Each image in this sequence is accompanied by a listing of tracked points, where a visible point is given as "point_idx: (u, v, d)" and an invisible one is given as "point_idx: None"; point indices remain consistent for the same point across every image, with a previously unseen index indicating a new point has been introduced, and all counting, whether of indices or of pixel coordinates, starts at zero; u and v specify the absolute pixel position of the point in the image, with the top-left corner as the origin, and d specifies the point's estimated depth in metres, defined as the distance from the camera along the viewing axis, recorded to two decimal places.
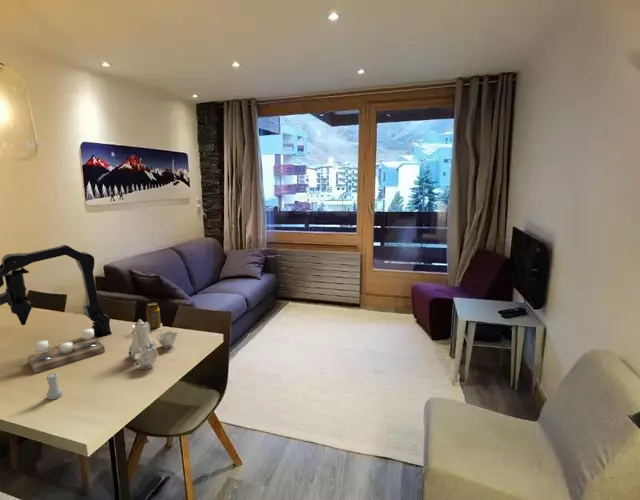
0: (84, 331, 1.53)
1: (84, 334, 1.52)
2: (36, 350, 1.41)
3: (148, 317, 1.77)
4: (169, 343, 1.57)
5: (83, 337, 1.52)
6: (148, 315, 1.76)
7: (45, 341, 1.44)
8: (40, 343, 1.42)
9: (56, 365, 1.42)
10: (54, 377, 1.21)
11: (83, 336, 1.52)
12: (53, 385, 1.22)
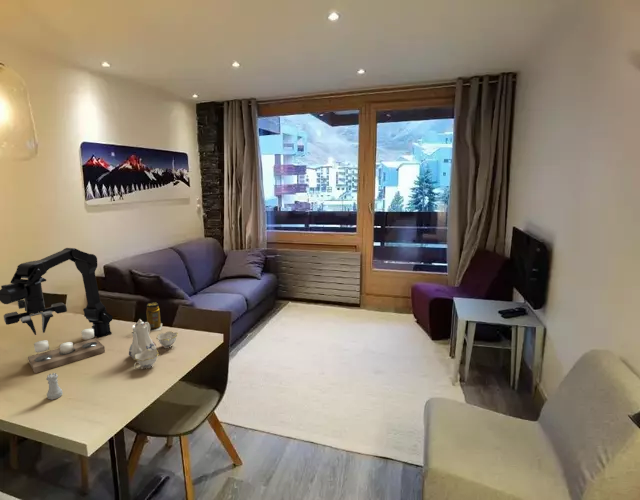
0: (84, 331, 1.53)
1: (84, 334, 1.52)
2: (36, 350, 1.41)
3: (148, 317, 1.77)
4: (169, 343, 1.57)
5: (83, 337, 1.52)
6: (148, 315, 1.76)
7: (45, 341, 1.44)
8: (40, 343, 1.42)
9: (56, 365, 1.42)
10: (54, 377, 1.21)
11: (83, 336, 1.52)
12: (53, 385, 1.22)
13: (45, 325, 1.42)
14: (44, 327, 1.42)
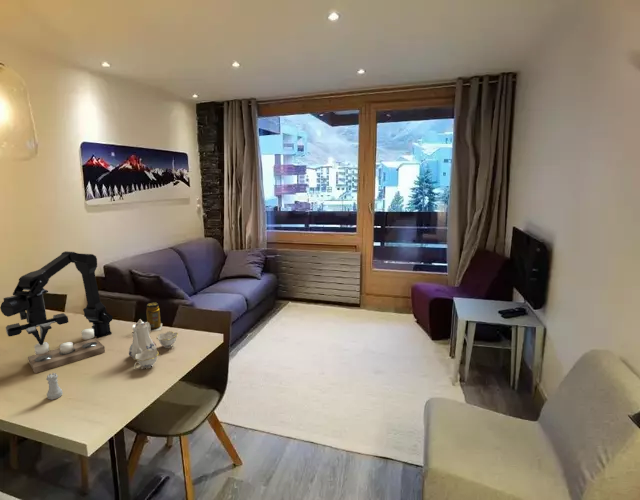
0: (84, 331, 1.53)
1: (84, 334, 1.52)
2: (36, 352, 1.41)
3: (148, 317, 1.77)
4: (169, 343, 1.57)
5: (83, 337, 1.52)
6: (148, 315, 1.76)
7: (45, 343, 1.44)
8: (40, 345, 1.42)
9: (56, 365, 1.42)
10: (54, 377, 1.21)
11: (83, 336, 1.52)
12: (53, 385, 1.22)
13: (43, 337, 1.42)
14: (42, 339, 1.42)
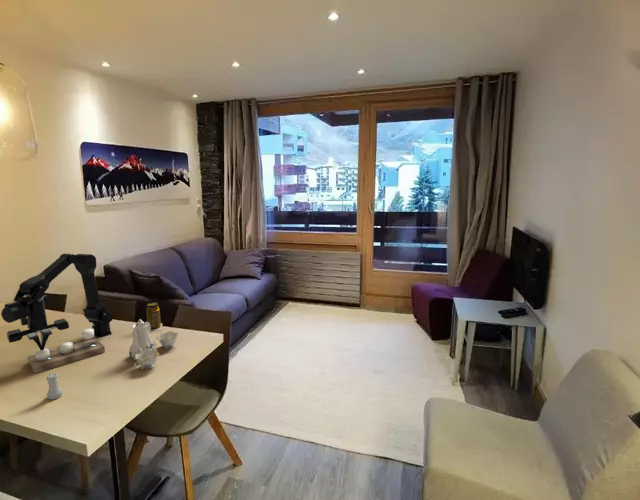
0: (84, 331, 1.53)
1: (84, 334, 1.52)
2: (37, 358, 1.42)
3: (148, 317, 1.77)
4: (170, 343, 1.57)
5: (83, 337, 1.52)
6: (148, 315, 1.76)
7: (46, 349, 1.44)
8: (41, 351, 1.43)
9: (56, 365, 1.42)
10: (54, 377, 1.21)
11: (83, 336, 1.52)
12: (53, 385, 1.22)
13: (44, 343, 1.42)
14: (43, 345, 1.42)
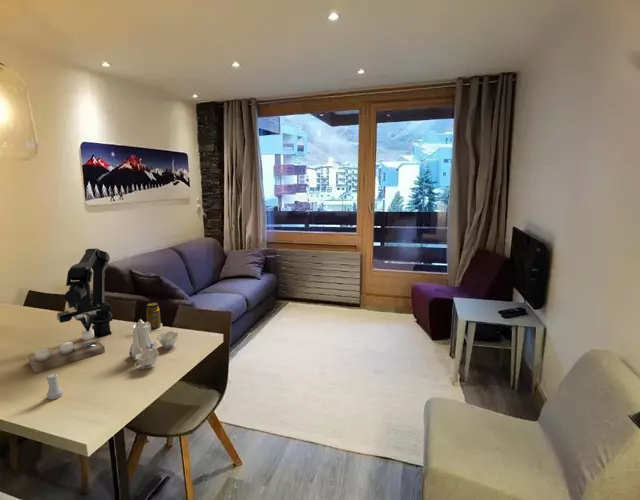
0: (84, 331, 1.53)
1: (84, 334, 1.52)
2: (37, 358, 1.42)
3: (148, 317, 1.77)
4: (170, 343, 1.57)
5: (83, 337, 1.53)
6: (148, 315, 1.76)
7: (46, 349, 1.44)
8: (41, 351, 1.43)
9: (56, 365, 1.42)
10: (54, 377, 1.21)
11: (83, 336, 1.52)
12: (53, 385, 1.22)
13: (90, 324, 1.53)
14: (89, 326, 1.53)
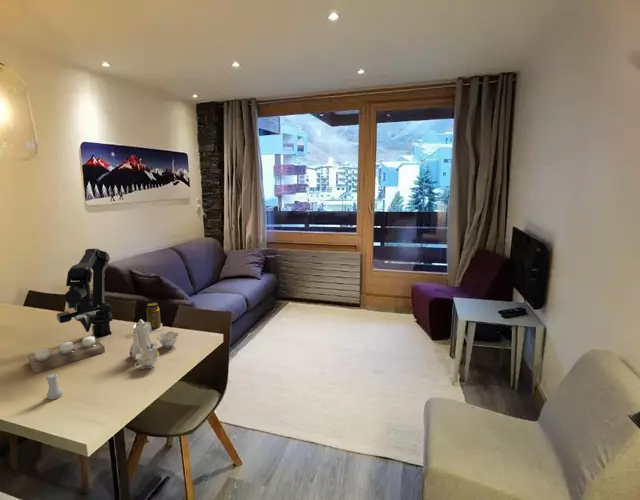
0: (85, 339, 1.54)
1: (85, 342, 1.53)
2: (37, 358, 1.42)
3: (148, 317, 1.77)
4: (170, 343, 1.57)
5: (84, 345, 1.53)
6: (148, 315, 1.76)
7: (46, 349, 1.44)
8: (41, 351, 1.43)
9: (56, 365, 1.42)
10: (54, 377, 1.21)
11: (84, 344, 1.53)
12: (53, 385, 1.22)
13: (90, 324, 1.53)
14: (89, 326, 1.53)
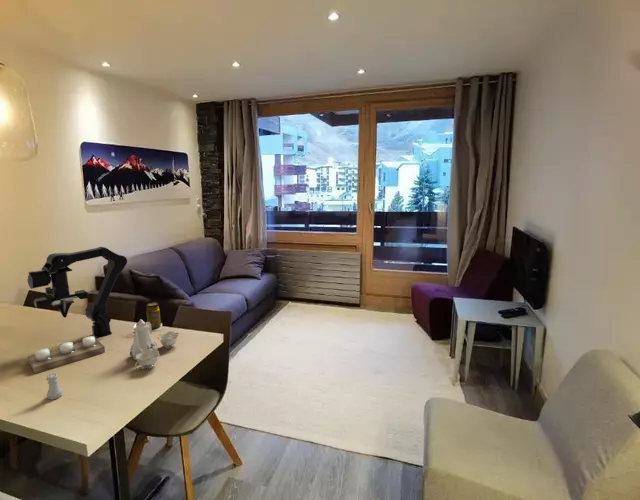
0: (85, 339, 1.54)
1: (85, 342, 1.53)
2: (37, 358, 1.42)
3: (148, 317, 1.77)
4: (170, 343, 1.57)
5: (84, 345, 1.53)
6: (148, 315, 1.76)
7: (46, 349, 1.44)
8: (41, 351, 1.43)
9: (56, 365, 1.42)
10: (54, 377, 1.21)
11: (84, 344, 1.53)
12: (53, 385, 1.22)
13: (67, 310, 1.57)
14: (66, 312, 1.57)
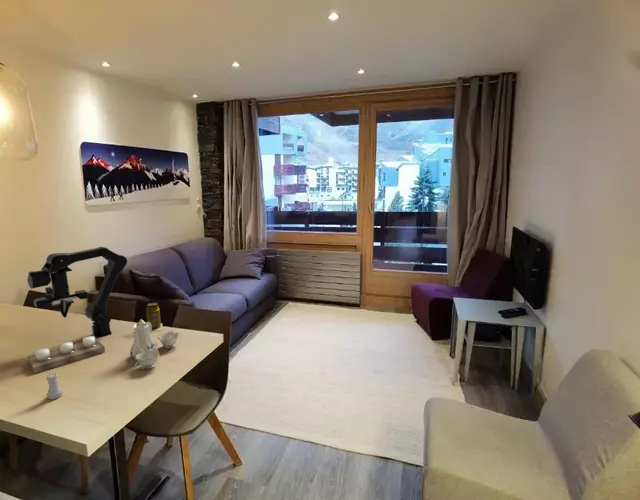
0: (85, 339, 1.54)
1: (85, 342, 1.53)
2: (37, 358, 1.42)
3: (148, 317, 1.77)
4: (171, 343, 1.57)
5: (84, 345, 1.53)
6: (148, 315, 1.76)
7: (46, 349, 1.44)
8: (41, 351, 1.43)
9: (56, 365, 1.42)
10: (54, 377, 1.21)
11: (84, 344, 1.53)
12: (53, 385, 1.22)
13: (66, 310, 1.57)
14: (66, 312, 1.57)
